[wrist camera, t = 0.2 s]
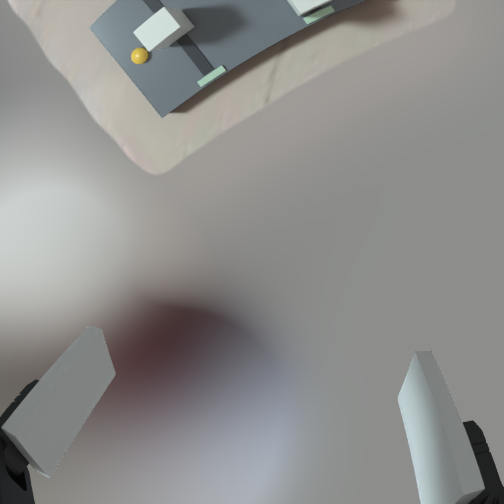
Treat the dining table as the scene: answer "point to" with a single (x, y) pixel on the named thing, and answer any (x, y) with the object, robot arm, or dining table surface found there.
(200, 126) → the dining table surface
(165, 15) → the block
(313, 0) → the block
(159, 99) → the breaker panel
